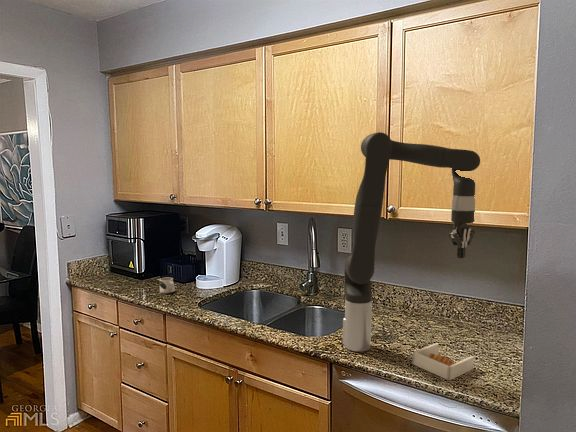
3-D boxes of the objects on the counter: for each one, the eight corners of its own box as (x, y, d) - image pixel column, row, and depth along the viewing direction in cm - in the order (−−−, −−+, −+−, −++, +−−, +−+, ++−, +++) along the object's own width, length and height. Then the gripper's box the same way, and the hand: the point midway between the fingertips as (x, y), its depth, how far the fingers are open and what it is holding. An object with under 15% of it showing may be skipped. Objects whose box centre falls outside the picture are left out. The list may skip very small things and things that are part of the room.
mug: (157, 291, 222) (156, 279, 221) (168, 289, 227) (167, 276, 226) (168, 295, 215) (168, 282, 214) (179, 292, 220) (179, 279, 219)
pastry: (460, 368, 138) (461, 357, 137) (454, 377, 132) (455, 365, 132) (431, 360, 143) (431, 349, 143) (424, 368, 138) (424, 357, 137)
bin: (412, 363, 141) (412, 352, 140) (436, 354, 148) (436, 342, 148) (449, 380, 130) (449, 367, 129) (473, 368, 137) (473, 356, 137)
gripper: (464, 207, 157) (462, 253, 159) (442, 209, 149) (440, 258, 151) (483, 208, 151) (481, 257, 153) (462, 210, 143) (459, 262, 145)
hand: (460, 257), depth 152 cm, fingers closed
